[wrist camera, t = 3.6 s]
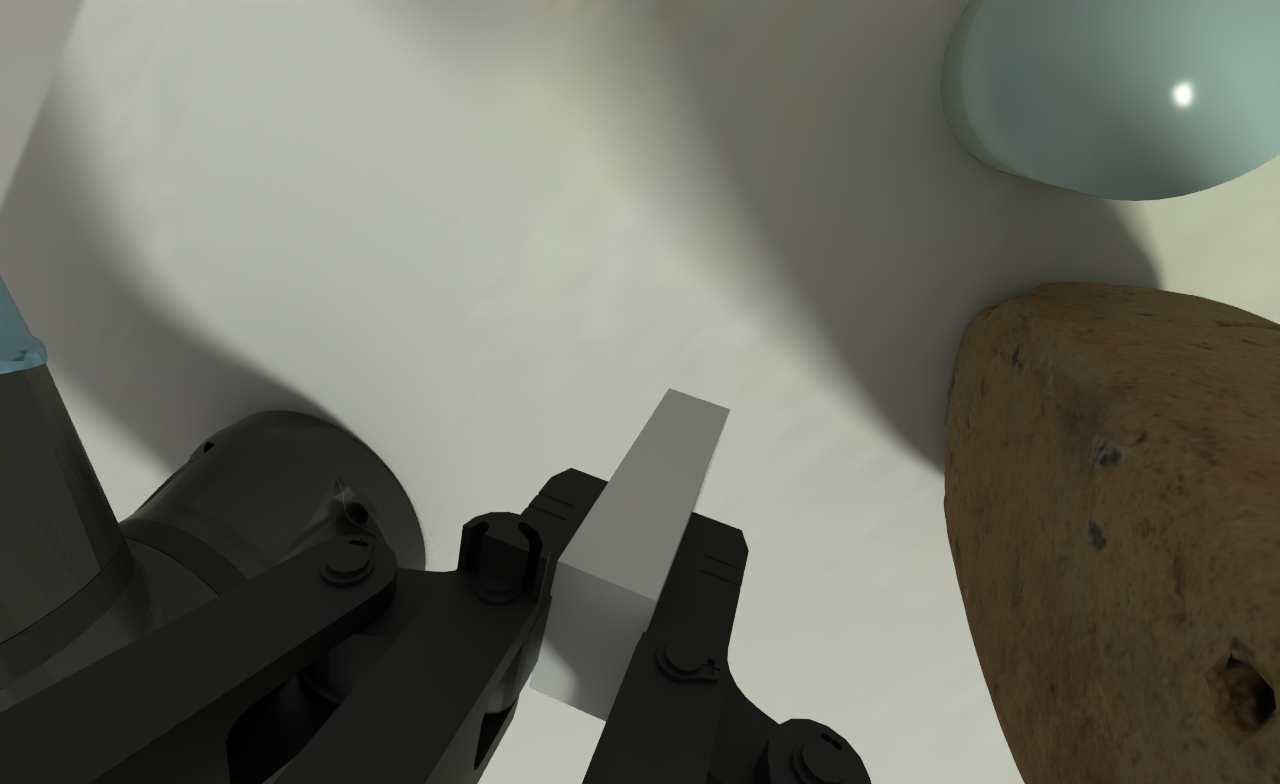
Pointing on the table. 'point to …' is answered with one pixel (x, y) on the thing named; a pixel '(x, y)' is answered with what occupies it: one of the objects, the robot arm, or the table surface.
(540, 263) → the table surface
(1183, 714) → the brown sandstone rock
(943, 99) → the pale blue rounded cylinder
